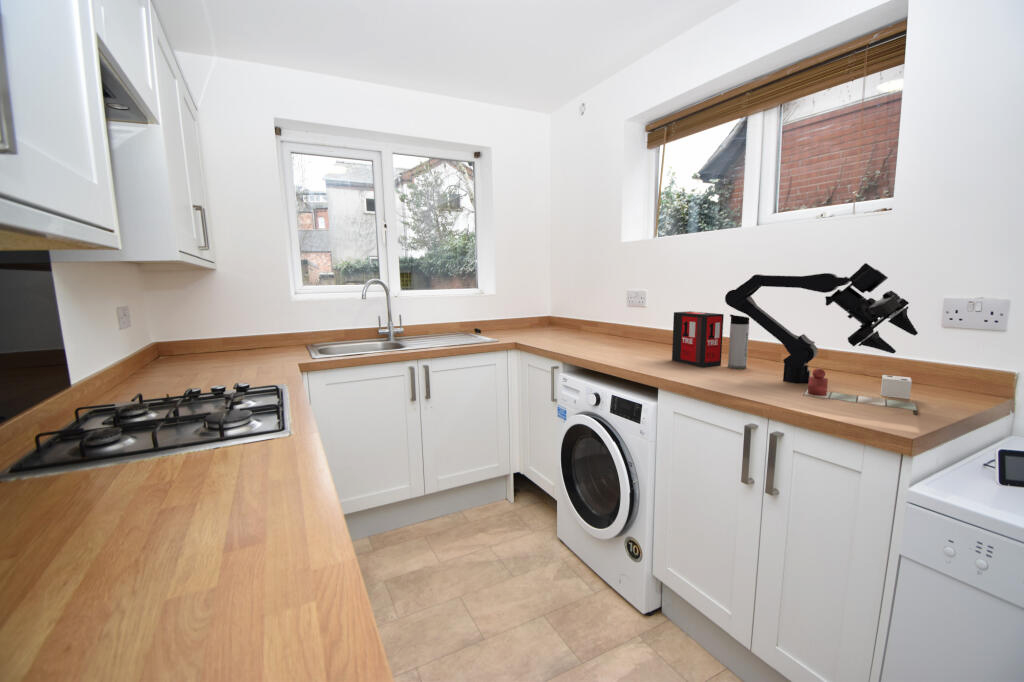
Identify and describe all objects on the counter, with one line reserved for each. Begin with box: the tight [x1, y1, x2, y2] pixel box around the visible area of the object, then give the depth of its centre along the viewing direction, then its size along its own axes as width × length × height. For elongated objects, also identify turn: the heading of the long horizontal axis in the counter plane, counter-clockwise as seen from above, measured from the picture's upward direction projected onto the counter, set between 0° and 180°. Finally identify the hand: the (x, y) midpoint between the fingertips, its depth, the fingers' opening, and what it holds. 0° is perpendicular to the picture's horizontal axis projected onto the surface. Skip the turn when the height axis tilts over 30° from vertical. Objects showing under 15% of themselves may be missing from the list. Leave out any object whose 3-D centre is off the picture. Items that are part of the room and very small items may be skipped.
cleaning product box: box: [671, 311, 725, 369], centre depth 176 cm, size 16×9×20 cm, turn 24°
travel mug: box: [727, 314, 750, 370], centre depth 167 cm, size 6×7×20 cm
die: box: [880, 374, 913, 400], centre depth 123 cm, size 6×6×6 cm
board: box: [802, 388, 919, 416], centre depth 120 cm, size 24×9×1 cm, turn 51°
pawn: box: [807, 367, 829, 396], centre depth 125 cm, size 4×4×7 cm
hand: (905, 343), depth 122 cm, fingers open, 9 cm apart
